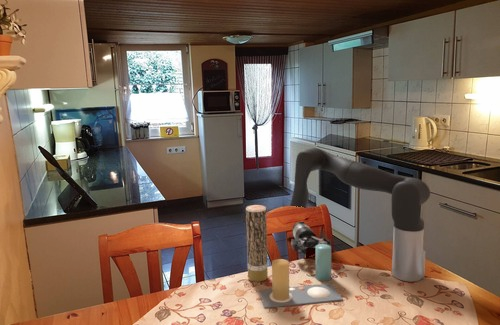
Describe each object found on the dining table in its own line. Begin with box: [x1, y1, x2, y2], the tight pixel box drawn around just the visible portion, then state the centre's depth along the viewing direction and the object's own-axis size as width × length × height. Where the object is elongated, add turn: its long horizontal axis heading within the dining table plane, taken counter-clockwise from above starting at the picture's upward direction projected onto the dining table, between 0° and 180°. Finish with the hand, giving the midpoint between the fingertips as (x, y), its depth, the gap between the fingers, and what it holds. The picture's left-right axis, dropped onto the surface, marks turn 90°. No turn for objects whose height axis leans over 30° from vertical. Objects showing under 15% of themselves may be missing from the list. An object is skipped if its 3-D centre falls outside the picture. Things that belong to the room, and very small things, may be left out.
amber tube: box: [271, 258, 290, 301], centre depth 111 cm, size 5×5×11 cm
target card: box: [258, 282, 344, 309], centre depth 112 cm, size 24×10×1 cm, turn 98°
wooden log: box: [245, 204, 269, 283], centre depth 123 cm, size 7×7×25 cm
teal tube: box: [315, 243, 332, 282], centre depth 123 cm, size 5×5×11 cm
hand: (316, 251), depth 130 cm, fingers open, 8 cm apart
